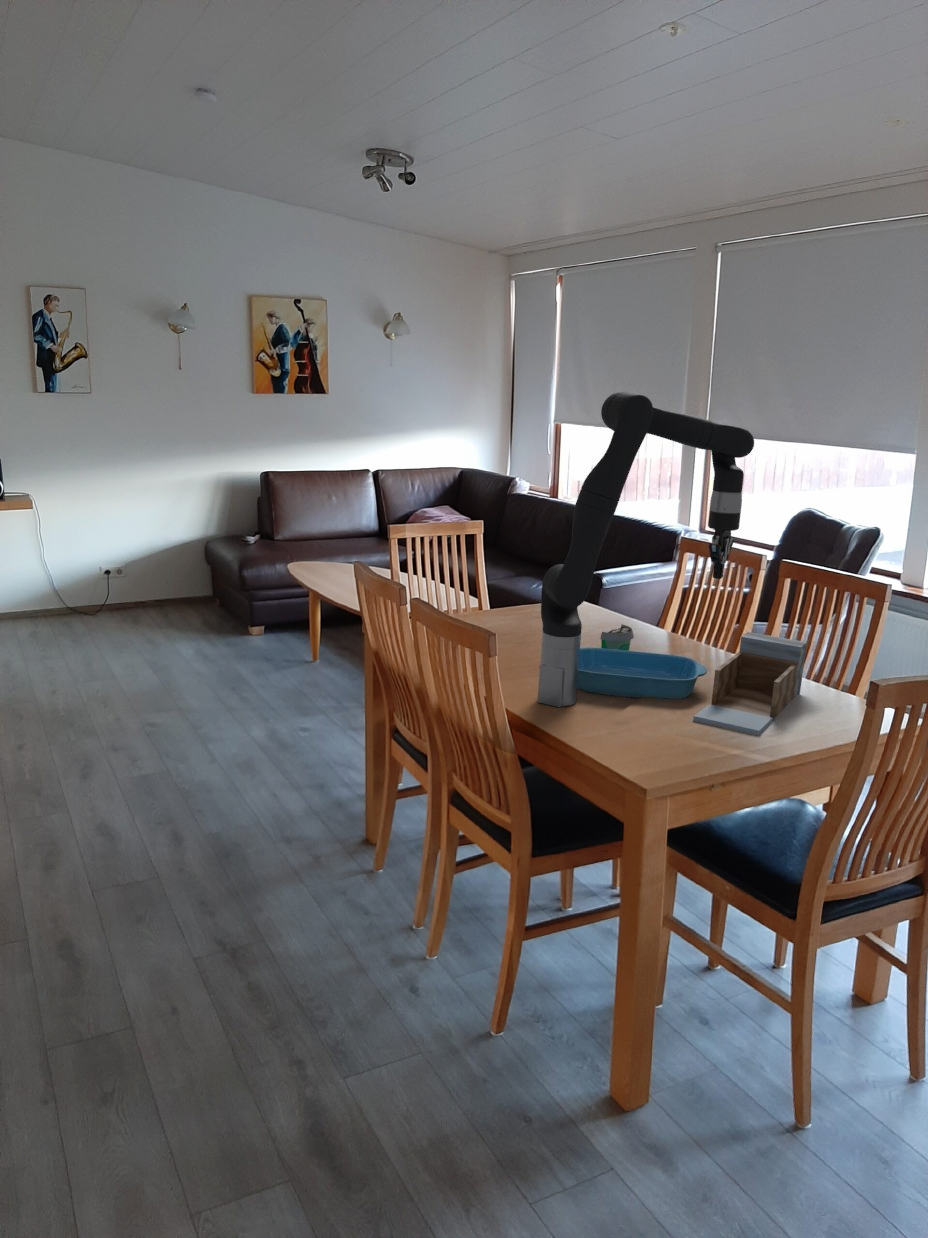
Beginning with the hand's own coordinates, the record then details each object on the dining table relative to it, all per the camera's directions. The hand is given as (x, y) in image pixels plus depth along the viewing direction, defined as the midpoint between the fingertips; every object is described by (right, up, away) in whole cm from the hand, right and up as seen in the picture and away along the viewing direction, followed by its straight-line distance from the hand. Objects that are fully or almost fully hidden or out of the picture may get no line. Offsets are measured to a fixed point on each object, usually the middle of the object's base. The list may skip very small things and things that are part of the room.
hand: (717, 578), depth 237 cm
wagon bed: (+9, -31, -2) cm, 32 cm away
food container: (-21, -23, +24) cm, 39 cm away
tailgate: (+2, -33, -14) cm, 36 cm away
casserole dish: (-21, -28, +5) cm, 36 cm away
